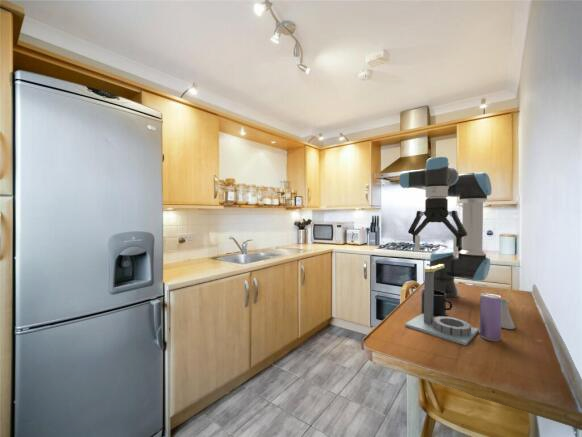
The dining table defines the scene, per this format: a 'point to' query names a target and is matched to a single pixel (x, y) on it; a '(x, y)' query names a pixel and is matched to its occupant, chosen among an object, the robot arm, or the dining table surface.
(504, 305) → the flask
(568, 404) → the dining table surface
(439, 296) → the mug
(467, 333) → the seat board
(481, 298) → the beverage can
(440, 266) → the lever
